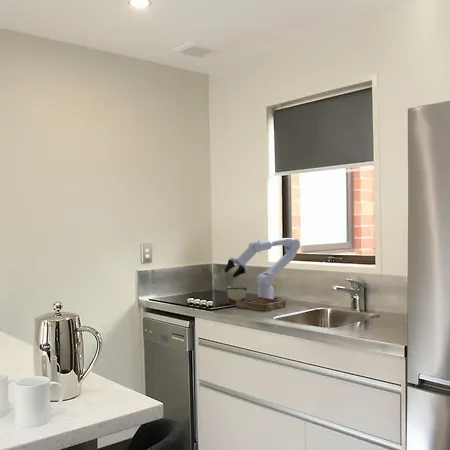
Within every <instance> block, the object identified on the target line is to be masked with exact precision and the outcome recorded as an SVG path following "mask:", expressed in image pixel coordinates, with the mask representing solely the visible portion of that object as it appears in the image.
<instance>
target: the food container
mask: <svg viewBox="0 0 450 450" xmlns="http://www.w3.org/2000/svg"><path fill="white" fill-rule="evenodd" d="M225 290H226V291H227V301H228V305H236V304H235V303H236V300H239V301H246V297H247V291H248V288H247V286H246V285H227V286H226V289H225Z"/></svg>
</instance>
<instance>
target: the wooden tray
mask: <svg viewBox="0 0 450 450" xmlns="http://www.w3.org/2000/svg"><path fill="white" fill-rule="evenodd" d="M286 304H287V303H286V300H283V299H276V298H274V299H270V298H263V297H258V296H255V297H254V302H253V301H251V302H250V301H246V300H245V301H239V300H236V304H235V307H236V308H242V309H247V310H254V311H261V312H269V311H274V310H278V309H283V308H286Z"/></svg>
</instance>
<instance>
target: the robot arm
mask: <svg viewBox="0 0 450 450" xmlns="http://www.w3.org/2000/svg"><path fill="white" fill-rule="evenodd" d="M277 246H283V247H284V251H285V254H284V255H283V256H282V257H280V259H278V260H277V262H276V263H274V264H273V265H272V266H271V267H269V269H268V270H266V271H263V272H262V273H259V274H258V275H257V276H256V278H255V279H256V283H257V284H258V295H257V297H263V298H270V299H275V290H274V286H272V285H273V282H274V281H275V279H276V276H277V275H278V274H279V273H281V271H282V270H283V269H284V268H285V267H286V266H287V265H288V264H289V263H291V261H292V260H294V258H296V256H297V253H298V250H299V249H300V248H301V241H300V240H299V239H298V238H296V237H295V238H293V237H291V238H290V237H283V238H278V239H274V240H270V239H268V238H265V239H264V240H261V241H260V240H257V241H256V242H255V241H252V242H251V243H249V244H248V246H247V248H246V249H245V250H244V251H243V252H242V253H241V255H239V256H238V257H237V258H234V257H230V258H229V259H228V260H227V261H228V262H227V265H226V266H225V268H224V270H223V271H224V273H225V274H226V273H228V272H229V271H230V270H231V269H233V268H235V267H236V266H238V268H237V269H236V270H235V271H234V273H232V277H233V279H234V278H237V277H238V276H240V275H243V274H245V273H246V272H247V271H249V266H247V263H248V262H250V261H251V259H252V258H253V257H254V256H255V255H256V254H257V253H261V252H263V251H267V250H271V248H272V247H277Z"/></svg>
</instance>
